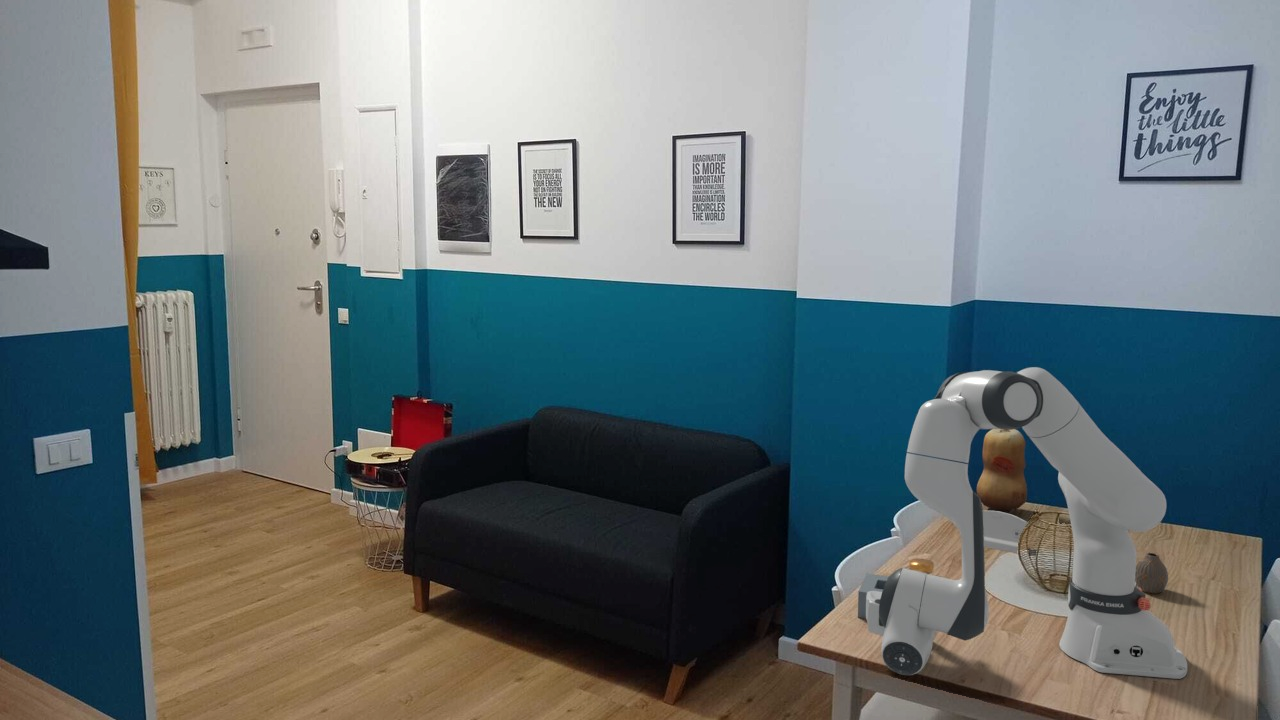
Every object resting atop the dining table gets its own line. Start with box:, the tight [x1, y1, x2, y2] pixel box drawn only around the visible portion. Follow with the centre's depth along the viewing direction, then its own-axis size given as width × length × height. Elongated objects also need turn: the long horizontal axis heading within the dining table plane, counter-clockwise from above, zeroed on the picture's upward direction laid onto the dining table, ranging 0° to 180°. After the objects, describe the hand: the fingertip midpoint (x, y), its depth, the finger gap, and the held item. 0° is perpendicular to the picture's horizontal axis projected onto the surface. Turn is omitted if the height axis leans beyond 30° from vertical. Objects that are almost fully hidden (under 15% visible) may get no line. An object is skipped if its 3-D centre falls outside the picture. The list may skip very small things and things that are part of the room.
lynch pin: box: [908, 557, 935, 575], centre depth 189 cm, size 5×5×16 cm
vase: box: [1135, 552, 1169, 595], centre depth 212 cm, size 7×7×9 cm
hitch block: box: [857, 573, 890, 619], centre depth 203 cm, size 11×11×6 cm
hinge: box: [983, 510, 1029, 554], centre depth 243 cm, size 17×5×10 cm, turn 53°
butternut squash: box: [976, 429, 1028, 513], centre depth 269 cm, size 14×13×25 cm
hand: (920, 595), depth 190 cm, fingers open, 8 cm apart
